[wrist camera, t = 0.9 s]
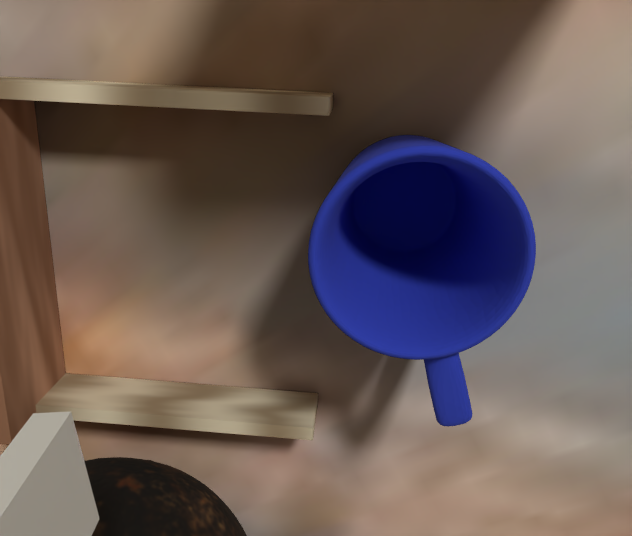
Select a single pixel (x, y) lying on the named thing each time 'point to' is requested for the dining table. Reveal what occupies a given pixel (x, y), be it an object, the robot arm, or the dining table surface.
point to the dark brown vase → (155, 501)
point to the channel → (40, 290)
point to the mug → (422, 257)
